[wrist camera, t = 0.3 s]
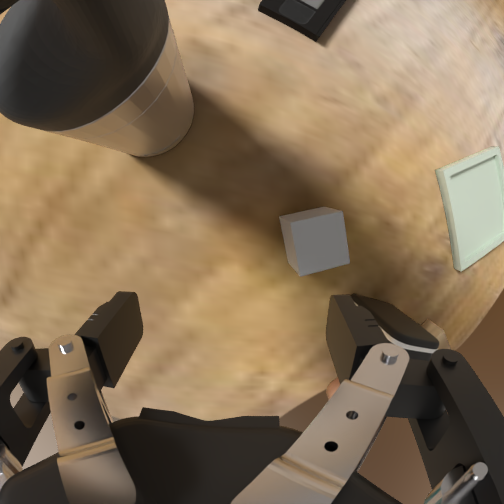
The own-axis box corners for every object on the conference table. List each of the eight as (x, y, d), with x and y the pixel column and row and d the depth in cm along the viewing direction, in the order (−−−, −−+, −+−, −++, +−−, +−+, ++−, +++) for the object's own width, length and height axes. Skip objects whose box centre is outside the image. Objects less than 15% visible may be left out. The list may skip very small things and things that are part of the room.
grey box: (278, 216, 31) (290, 222, 26) (324, 206, 31) (342, 211, 26) (287, 262, 32) (300, 276, 27) (331, 251, 32) (349, 263, 27)
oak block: (396, 346, 37) (411, 360, 33) (427, 318, 36) (443, 329, 33) (409, 369, 38) (423, 382, 34) (438, 342, 38) (452, 354, 34)
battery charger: (336, 320, 34) (380, 373, 23) (349, 291, 34) (400, 336, 22) (381, 330, 35) (429, 377, 24) (393, 303, 35) (447, 345, 24)
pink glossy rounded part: (322, 384, 36) (334, 408, 31) (352, 370, 36) (367, 391, 32) (330, 404, 37) (341, 427, 33) (358, 391, 37) (372, 412, 33)
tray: (435, 170, 31) (443, 170, 30) (491, 146, 32) (498, 146, 30) (454, 268, 35) (461, 271, 33) (505, 232, 35) (512, 233, 34)
